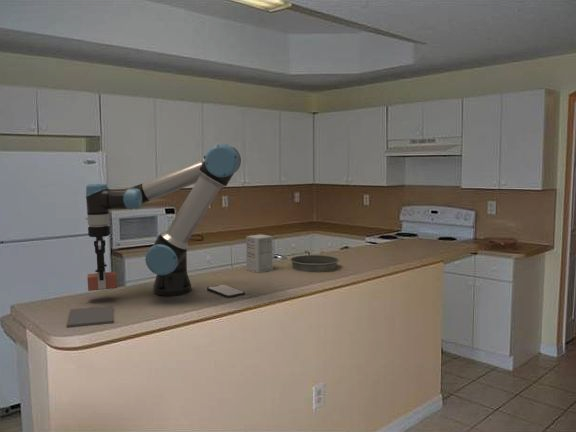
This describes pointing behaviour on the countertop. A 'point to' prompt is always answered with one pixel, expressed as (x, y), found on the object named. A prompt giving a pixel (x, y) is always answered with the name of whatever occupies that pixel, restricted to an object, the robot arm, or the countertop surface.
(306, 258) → the cake pan
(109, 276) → the card deck box
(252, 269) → the supplement box
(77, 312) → the rubber mat
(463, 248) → the countertop surface
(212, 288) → the phone case
